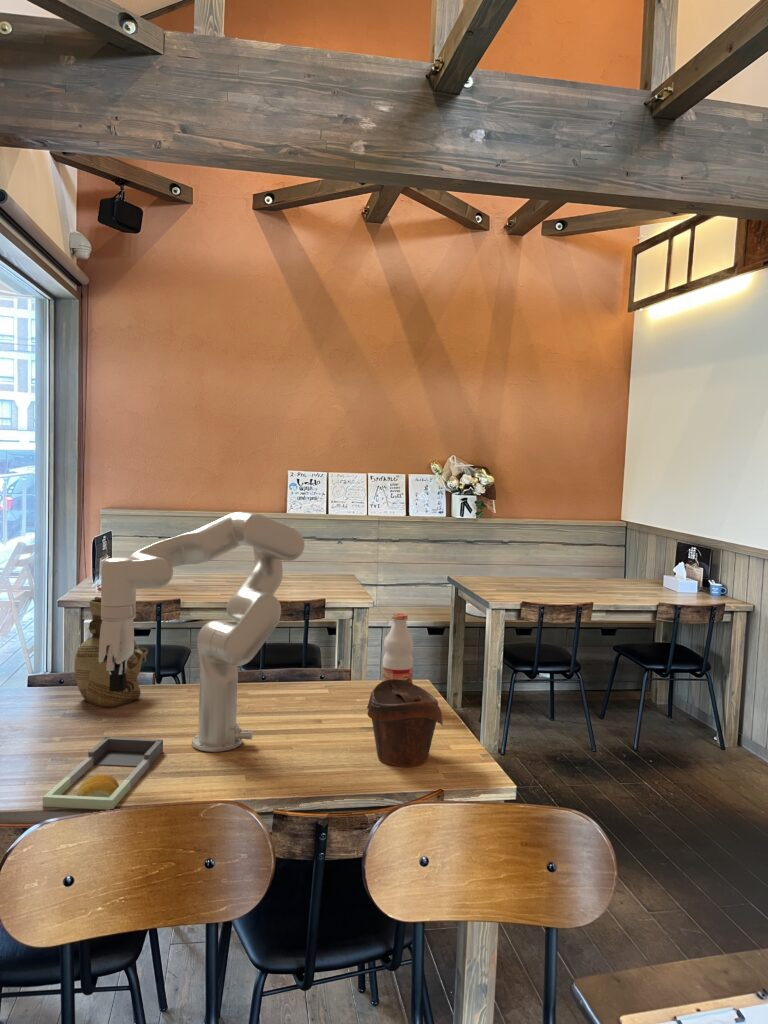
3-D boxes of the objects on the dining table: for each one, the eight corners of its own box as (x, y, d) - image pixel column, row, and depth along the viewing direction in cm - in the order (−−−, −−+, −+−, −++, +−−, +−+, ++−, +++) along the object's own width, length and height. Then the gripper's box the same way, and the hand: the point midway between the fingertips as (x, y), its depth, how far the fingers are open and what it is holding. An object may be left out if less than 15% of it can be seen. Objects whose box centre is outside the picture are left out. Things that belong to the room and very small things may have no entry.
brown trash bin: (423, 779, 171) (426, 702, 171) (350, 760, 181) (353, 688, 180) (454, 756, 187) (457, 686, 186) (385, 740, 196) (388, 674, 196)
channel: (162, 751, 182) (163, 739, 182) (112, 809, 150) (112, 795, 150) (105, 748, 182) (105, 737, 182) (42, 806, 151) (42, 792, 150)
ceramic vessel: (154, 704, 219) (156, 604, 217) (77, 712, 208) (79, 608, 207) (141, 687, 235) (143, 594, 234) (70, 694, 225) (72, 597, 224)
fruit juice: (391, 698, 233) (394, 610, 232) (416, 703, 229) (420, 614, 227) (375, 705, 225) (378, 615, 224) (401, 711, 221) (405, 619, 219)
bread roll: (119, 785, 162) (119, 767, 162) (117, 803, 154) (117, 784, 154) (79, 788, 160) (79, 770, 160) (74, 807, 151) (75, 788, 151)
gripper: (114, 605, 176) (114, 680, 177) (88, 617, 161) (87, 699, 162) (145, 606, 176) (145, 681, 177) (122, 618, 161) (121, 701, 162)
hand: (117, 690), depth 170 cm, fingers closed
